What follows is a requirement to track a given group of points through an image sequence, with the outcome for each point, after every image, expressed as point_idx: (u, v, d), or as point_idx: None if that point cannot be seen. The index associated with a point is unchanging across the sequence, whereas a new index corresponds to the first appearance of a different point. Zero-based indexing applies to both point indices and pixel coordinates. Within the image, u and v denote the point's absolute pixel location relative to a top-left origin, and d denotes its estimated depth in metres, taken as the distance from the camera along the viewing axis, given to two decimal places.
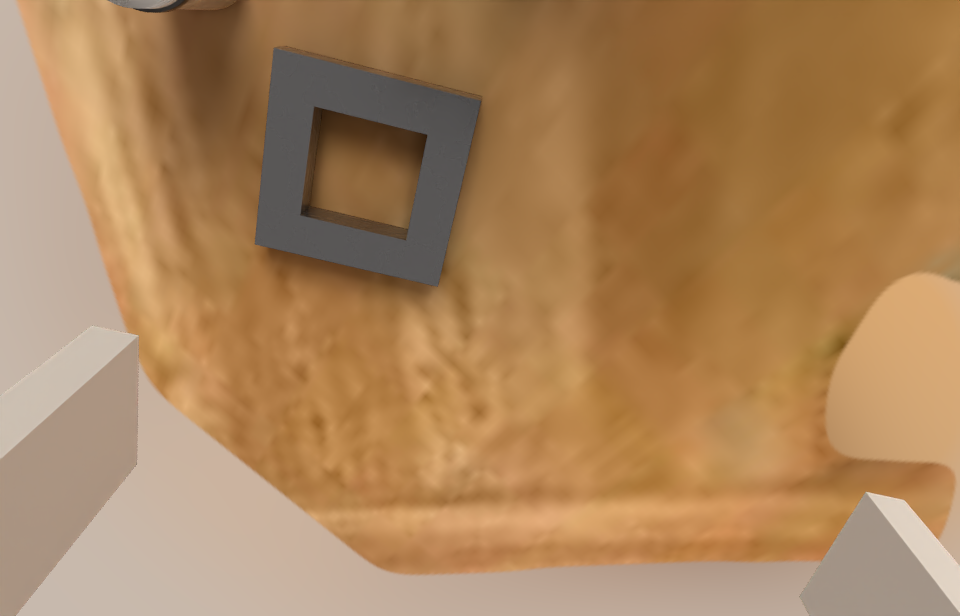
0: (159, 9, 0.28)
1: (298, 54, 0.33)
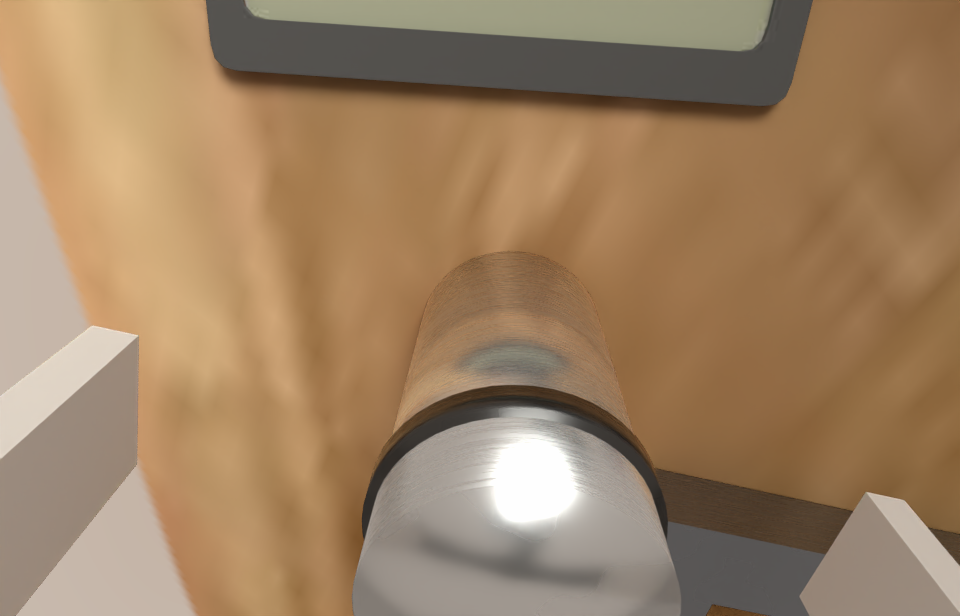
0: None
1: (705, 528, 0.16)
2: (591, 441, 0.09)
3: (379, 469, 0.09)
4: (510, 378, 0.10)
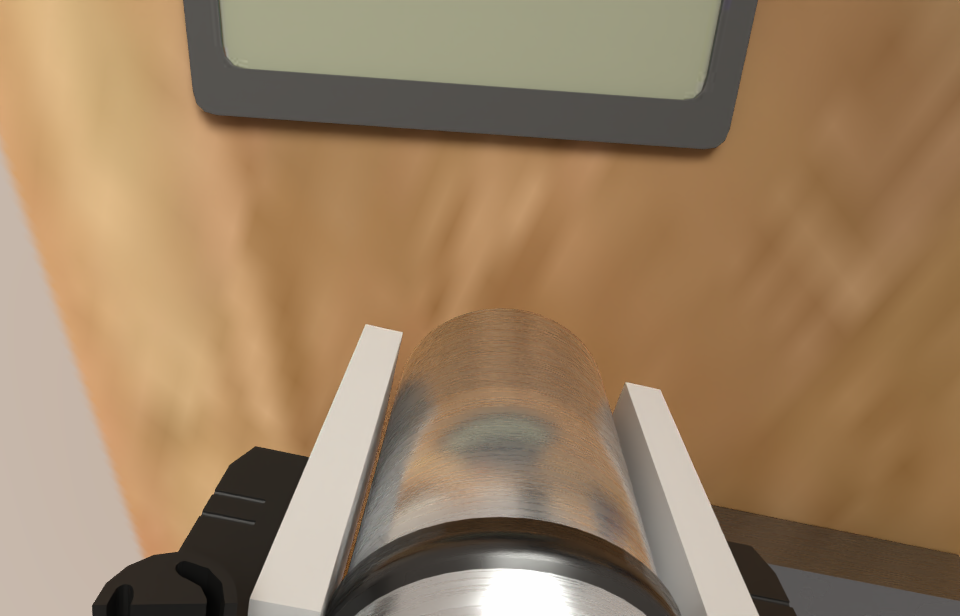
0: None
1: None
2: (603, 602, 0.07)
3: None
4: (497, 501, 0.08)
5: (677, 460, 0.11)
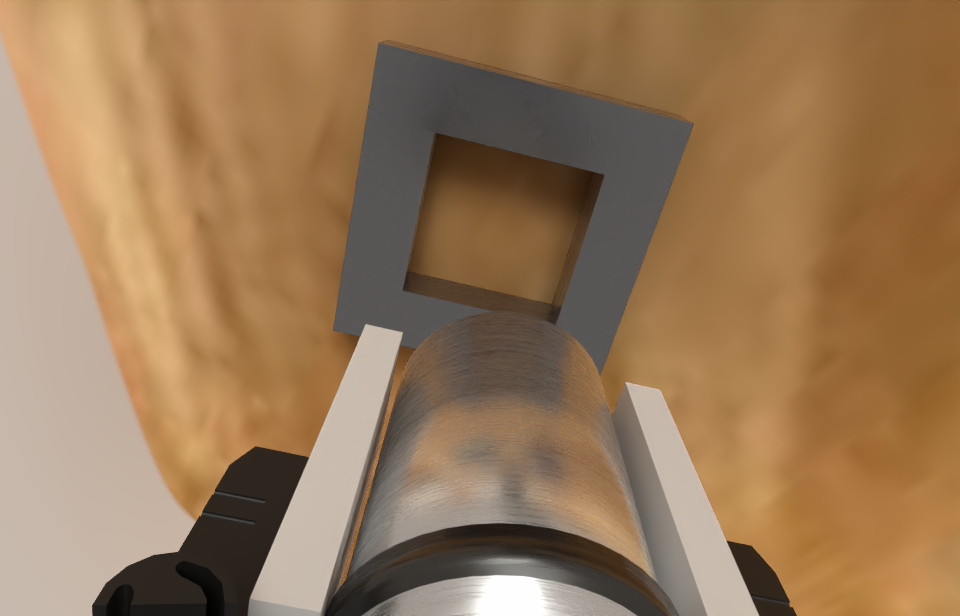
0: None
1: (416, 53, 0.21)
2: (602, 609, 0.07)
3: None
4: (496, 507, 0.08)
5: (677, 460, 0.11)
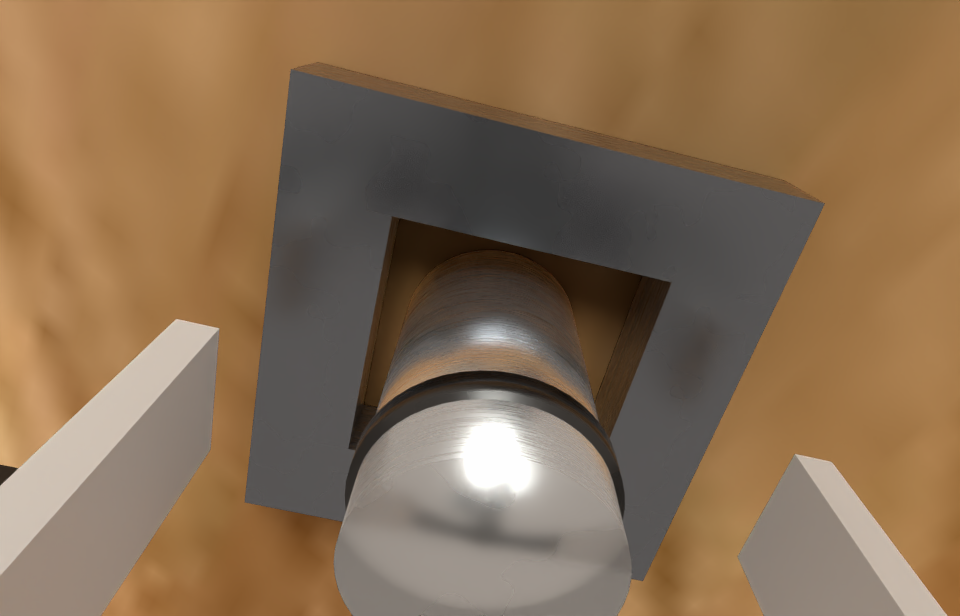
0: None
1: (356, 86, 0.12)
2: (551, 421, 0.10)
3: (359, 448, 0.10)
4: (480, 365, 0.11)
5: (888, 555, 0.10)
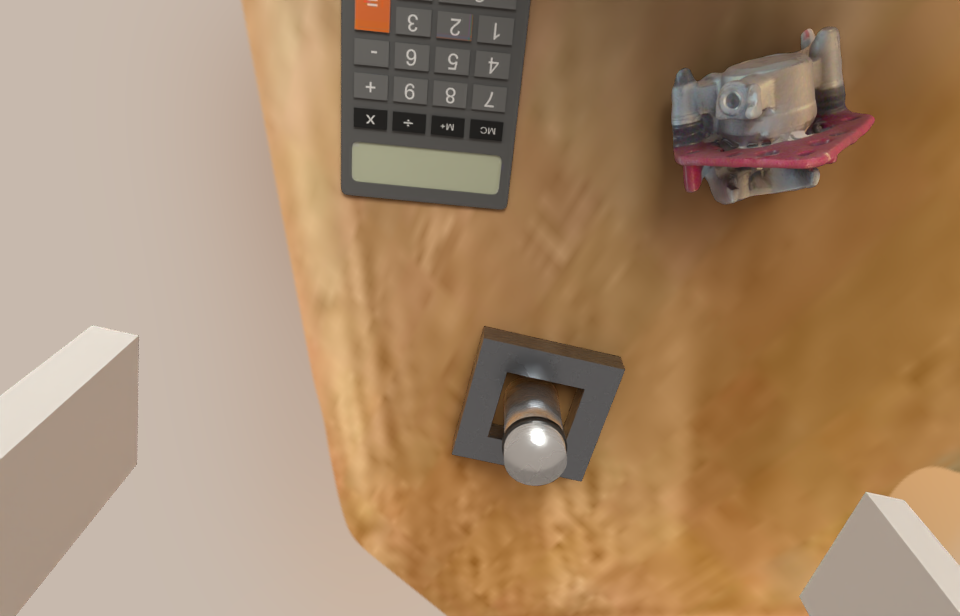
0: None
1: (500, 341, 0.47)
2: (550, 427, 0.45)
3: (507, 433, 0.45)
4: (534, 414, 0.46)
5: None
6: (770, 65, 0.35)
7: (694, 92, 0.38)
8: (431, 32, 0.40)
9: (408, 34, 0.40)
